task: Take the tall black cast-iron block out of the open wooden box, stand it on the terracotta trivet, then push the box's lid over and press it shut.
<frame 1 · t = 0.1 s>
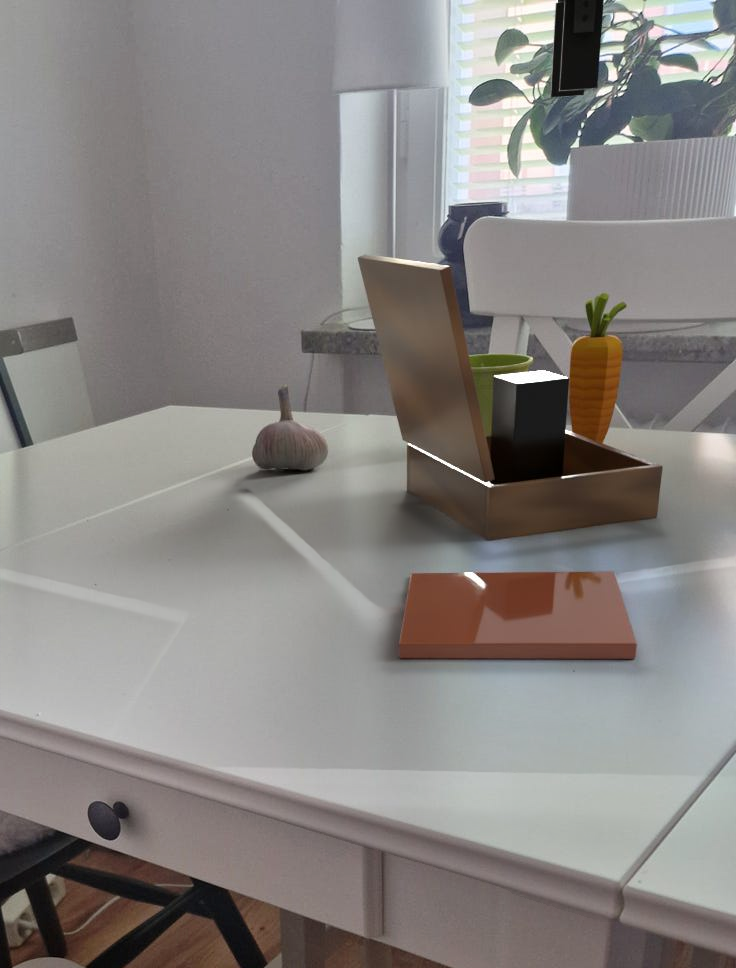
hand: (572, 94, 92), 30 cm above the table, tool pointing down, fingers open, 13 cm apart
plant pot: (481, 452, 120), on the table
trivet: (512, 619, 76), on the table
wooden box: (523, 511, 99), on the table
garlic bulb: (290, 471, 118), on the table
carrot: (586, 465, 112), on the table
lid: (423, 364, 91), point 12 cm above the table, hinge at 105.0°
black block: (523, 502, 98), point 1 cm above the table, touching wooden box
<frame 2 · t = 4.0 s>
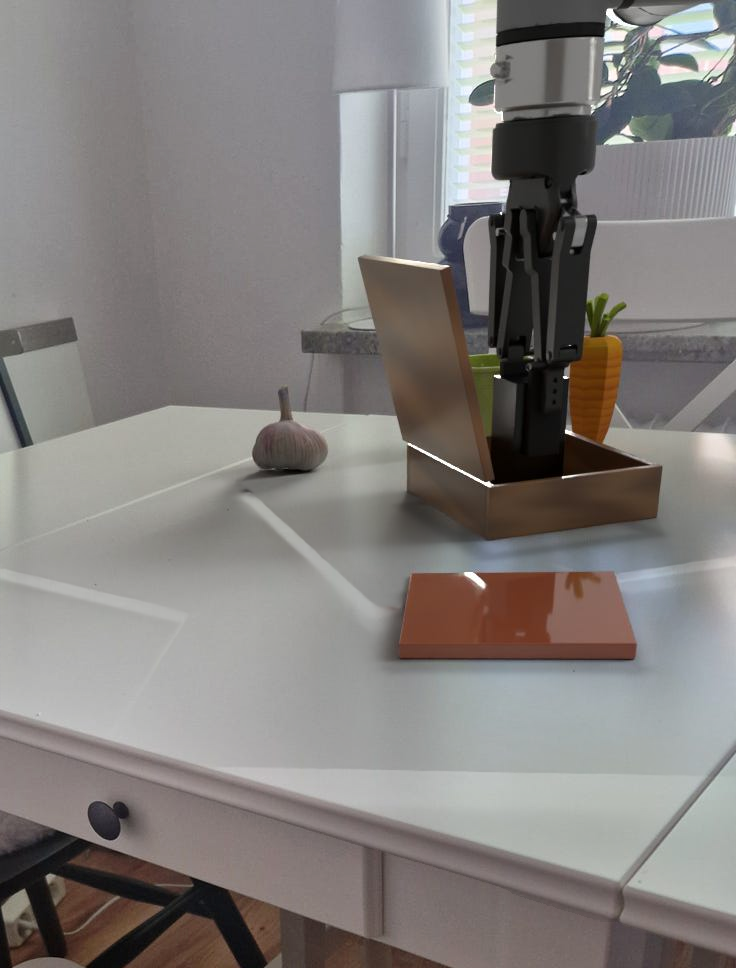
hand: (526, 447, 96), 5 cm above the table, tool pointing down, fingers closed on black block, 4 cm apart
black block: (523, 502, 98), point 1 cm above the table, touching gripper, wooden box
everything else where it was.
when the fingers open (5 cm above the table, at t = 13.1 s): black block stays where it is, resting on trivet.
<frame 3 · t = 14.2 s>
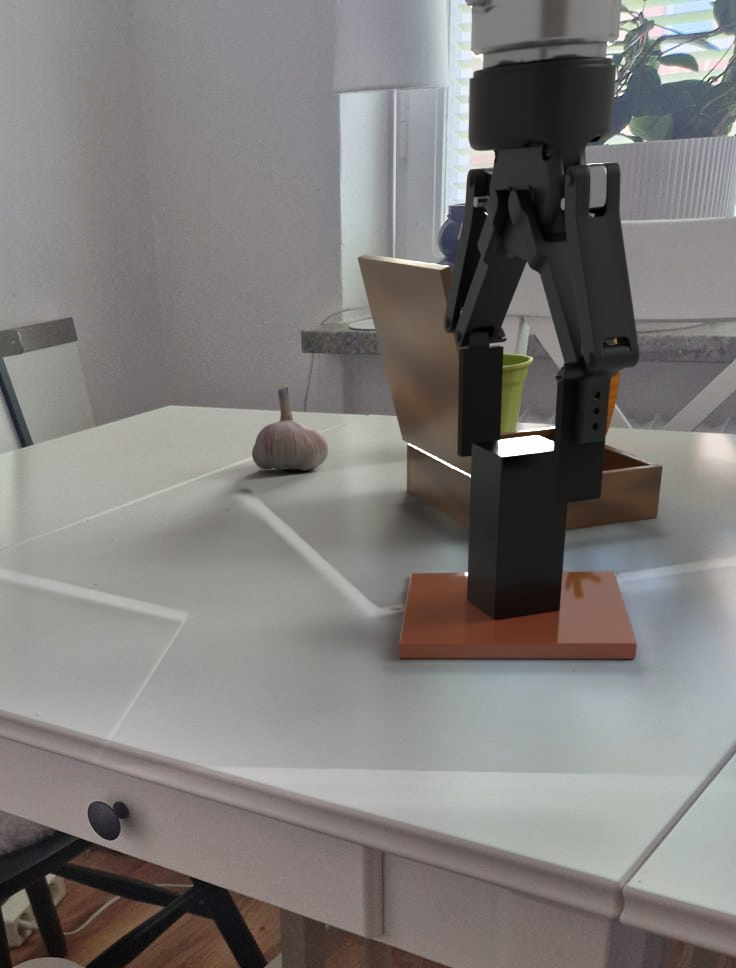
hand: (523, 475, 71), 9 cm above the table, tool pointing down, fingers open, 13 cm apart
black block: (512, 605, 76), point 1 cm above the table, touching trivet
everything else where it was.
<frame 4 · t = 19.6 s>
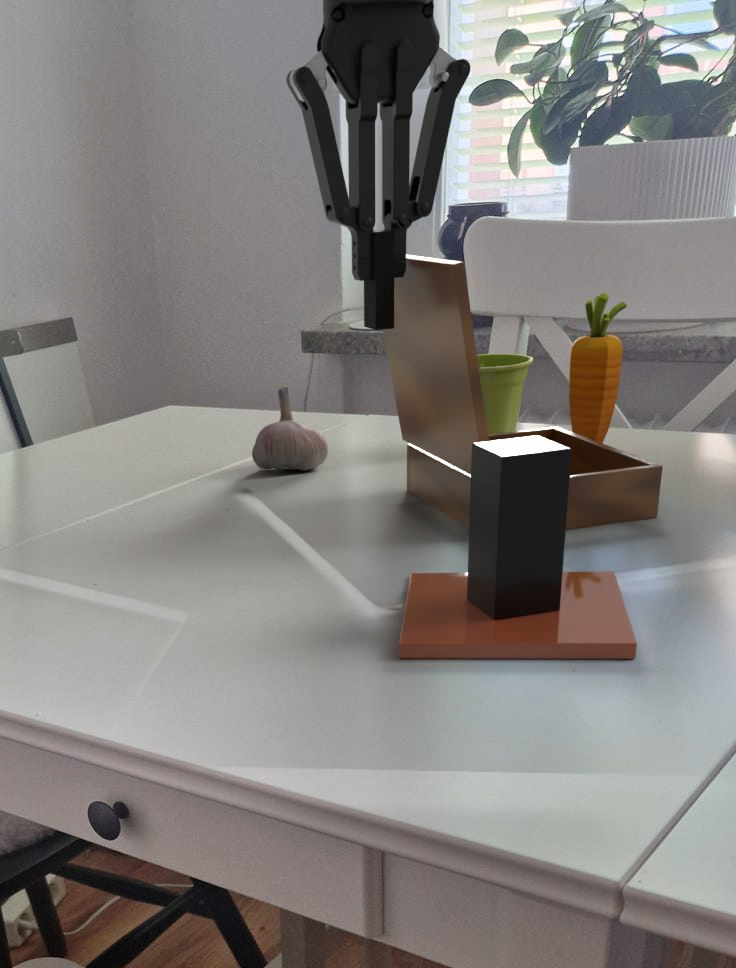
hand: (378, 327, 88), 15 cm above the table, tool pointing down, fingers closed
lid: (429, 362, 91), point 13 cm above the table, hinge at 101.2°, touching gripper
everything else where it was.
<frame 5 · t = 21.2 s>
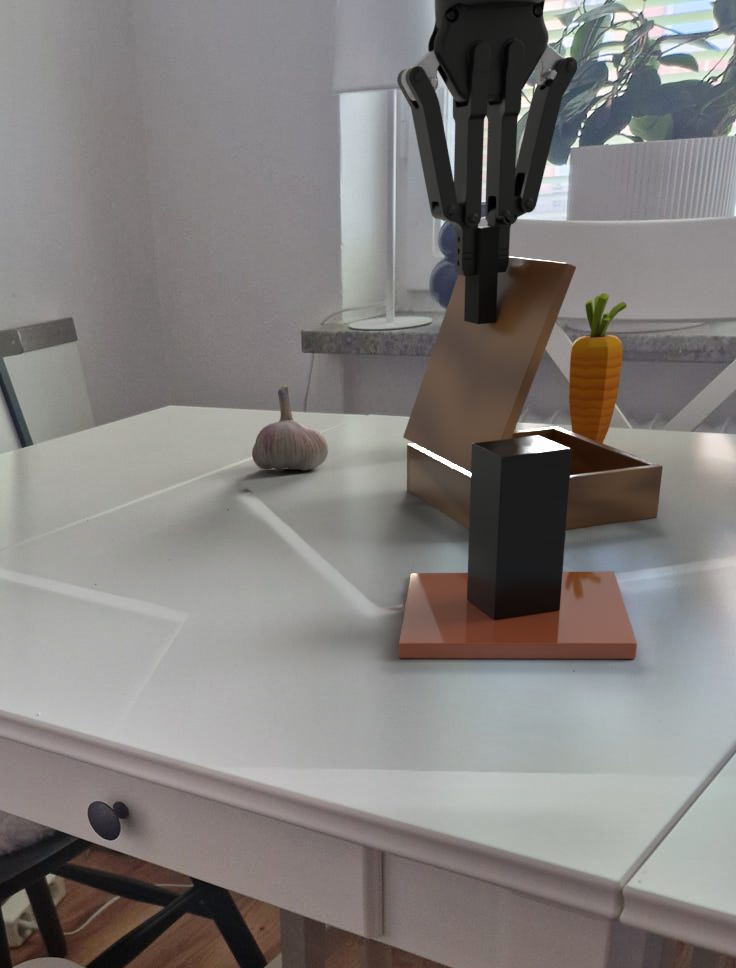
hand: (479, 321, 90), 15 cm above the table, tool pointing down, fingers closed
lid: (479, 361, 92), point 12 cm above the table, hinge at 68.7°
everything else where it was.
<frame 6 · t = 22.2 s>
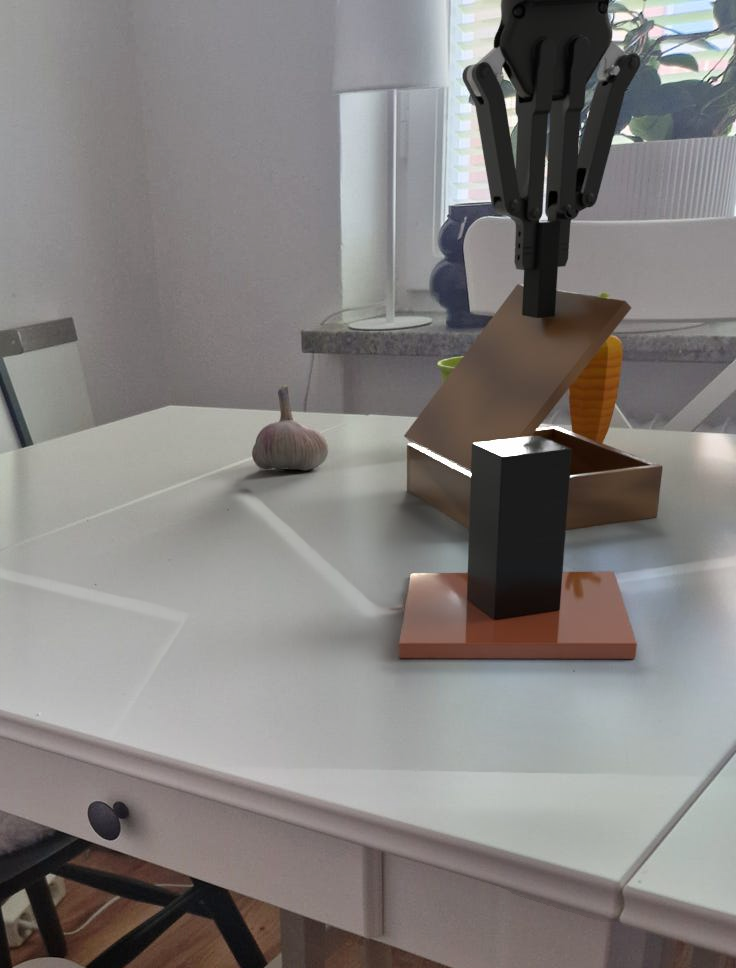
hand: (538, 315, 91), 15 cm above the table, tool pointing down, fingers closed
lid: (506, 378, 93), point 11 cm above the table, hinge at 48.0°, touching gripper
everything else where it was.
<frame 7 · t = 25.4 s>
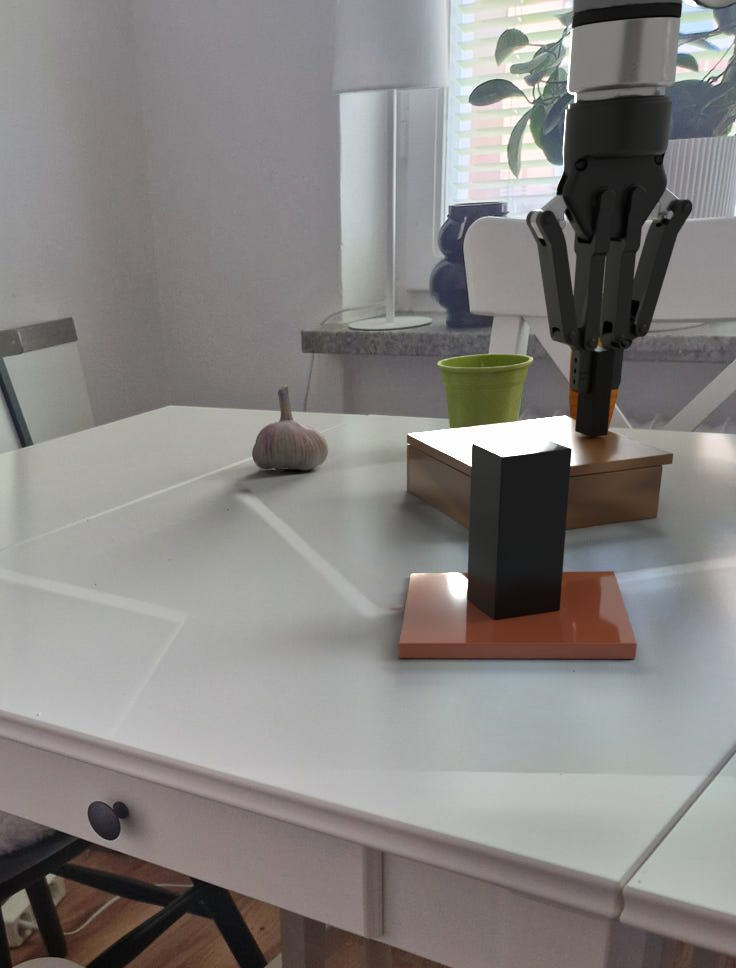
hand: (591, 432, 97), 6 cm above the table, tool pointing down, fingers closed
lid: (531, 448, 96), point 5 cm above the table, hinge at -0.1°, touching gripper
everything else where it was.
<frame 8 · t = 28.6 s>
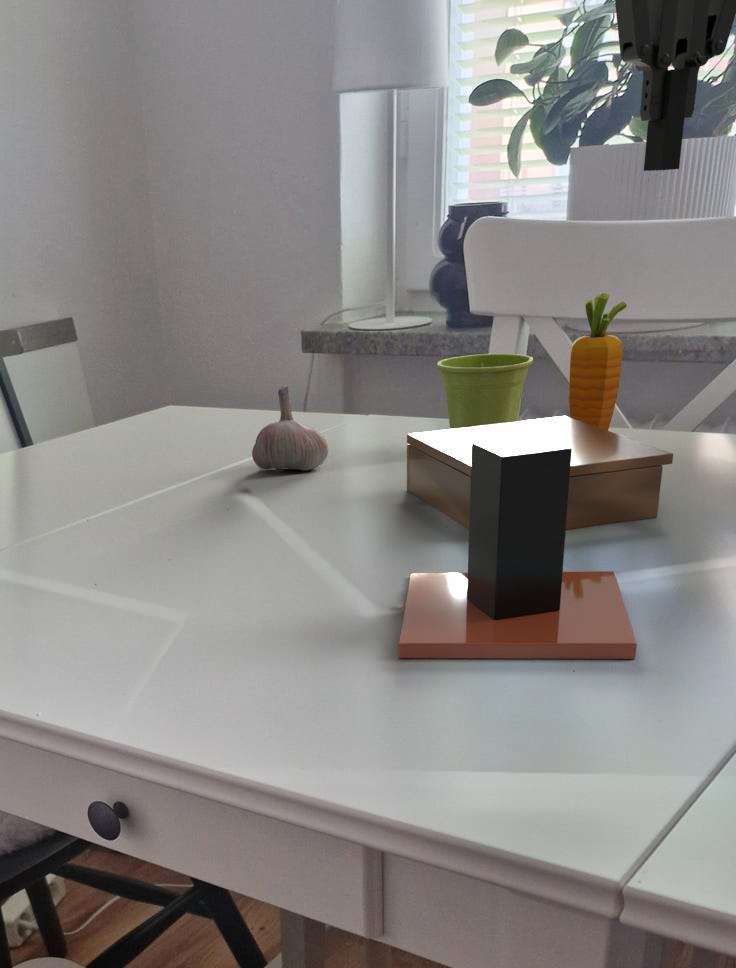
hand: (661, 169, 91), 24 cm above the table, tool pointing down, fingers closed
lid: (531, 448, 96), point 5 cm above the table, hinge at -0.1°
everything else where it was.
at the end: black block inside the target area on the trivet (0.1 cm from its centre), point 1.0 cm above the trivet's base; black block tilted 0°; lid at +0° (first picture: +105°) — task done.
